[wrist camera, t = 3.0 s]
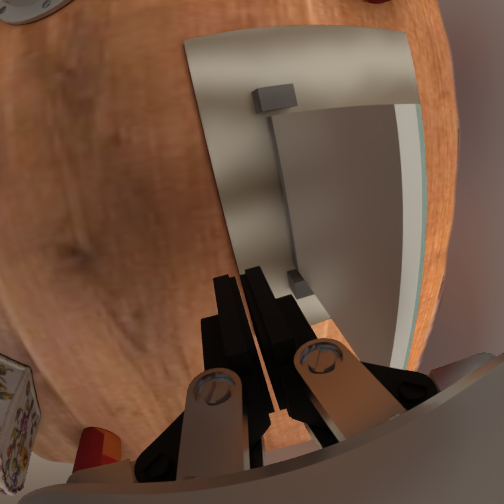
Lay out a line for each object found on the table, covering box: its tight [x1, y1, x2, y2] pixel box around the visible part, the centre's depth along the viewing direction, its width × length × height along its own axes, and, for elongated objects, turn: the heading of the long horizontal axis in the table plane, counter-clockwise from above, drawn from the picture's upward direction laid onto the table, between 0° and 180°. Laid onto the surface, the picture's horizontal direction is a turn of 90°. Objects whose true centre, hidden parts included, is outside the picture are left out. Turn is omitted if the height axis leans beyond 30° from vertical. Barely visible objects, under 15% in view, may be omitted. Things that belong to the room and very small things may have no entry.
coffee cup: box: [72, 427, 121, 474], centre depth 25 cm, size 8×8×15 cm
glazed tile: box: [268, 104, 427, 370], centre depth 15 cm, size 12×1×14 cm, turn 12°
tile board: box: [184, 25, 427, 325], centre depth 22 cm, size 26×19×3 cm
